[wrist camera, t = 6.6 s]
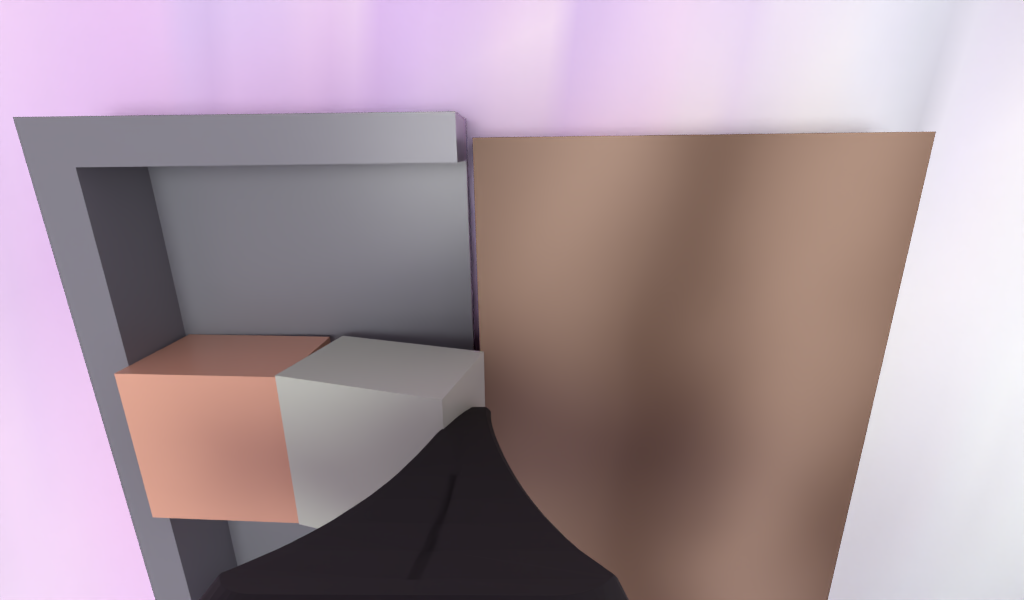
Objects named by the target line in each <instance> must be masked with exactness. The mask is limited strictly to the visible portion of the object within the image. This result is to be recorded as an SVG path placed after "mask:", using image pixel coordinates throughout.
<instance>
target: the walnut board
mask: <svg viewBox="0 0 1024 600" xmlns="http://www.w3.org/2000/svg"><path fill="white" fill-rule="evenodd" d="M935 133H936V132H875V133H798V134H721V135H644V136H567V137H490V138H473V165H474V194H475V223H476V252H477V281H478V310H479V339H480V351H483V352H484V380H485V407H487V408H488V409H489V410H490V411H491V422H492V426H493V430H494V433H495V436H496V438H497V441H498V443H499V446H500V448H501V450H502V452H503V455H504V457H505V459H506V461H507V462H508V464H509V466H510V468H511V470H512V471H513V473H514V475H515V477H516V478H517V480H518V481H519V483H520V484H521V486H522V487H523V489H524V490H525V492H526V493H527V494H528V496H529V497H530V499H531V500H532V501H533V502H534V504H535V505H536V506H537V507H538V509H539V510H540V511H541V512H542V513H543V515H544V516H545V517H546V518H547V519H548V520H549V521H550V522H551V523H552V524H553V525H554V526H555V527H556V528H557V529H558V530H559V531H560V532H561V533H562V534H563V535H564V536H565V537H566V538H567V539H568V540H569V541H570V542H571V543H572V544H573V545H575V546H576V547H577V548H578V549H579V550H581V551H582V552H583V553H585V554H586V555H588V556H589V557H590V558H592V559H593V560H595V561H596V562H597V563H599V564H600V565H602V566H603V567H604V568H606V569H607V570H609V571H610V572H611V573H613V574H614V575H615V576H616V577H617V578H618V580H619V582H620V584H621V585H622V587H623V589H624V591H625V593H626V595H627V597H628V599H629V600H828V595H829V591H830V587H831V583H832V578H833V574H834V570H835V565H836V561H837V557H838V552H839V548H840V544H841V539H842V535H843V531H844V526H845V522H846V518H847V513H848V509H849V505H850V500H851V496H852V492H853V487H854V483H855V479H856V474H857V470H858V466H859V461H860V457H861V453H862V448H863V444H864V440H865V435H866V431H867V427H868V423H869V418H870V414H871V410H872V405H873V401H874V397H875V392H876V388H877V384H878V379H879V375H880V371H881V366H882V362H883V358H884V353H885V349H886V345H887V340H888V336H889V332H890V327H891V323H892V319H893V314H894V310H895V306H896V301H897V297H898V293H899V288H900V284H901V280H902V275H903V271H904V267H905V263H906V258H907V254H908V250H909V245H910V241H911V237H912V232H913V228H914V224H915V219H916V215H917V211H918V206H919V202H920V198H921V193H922V189H923V185H924V180H925V176H926V172H927V167H928V163H929V159H930V154H931V150H932V146H933V141H934V137H935Z"/></svg>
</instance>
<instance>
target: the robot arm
mask: <svg viewBox="0 0 1024 600" xmlns="http://www.w3.org/2000/svg"><path fill="white" fill-rule="evenodd" d="M199 600H629V599H628V597H627V595H626V593H625V591H624V589H623V587H622V585H621V584H620V582H619V580H618V578H617V577H616V576H615V575H614V574H613V573H611V572H610V571H609V570H607V569H606V568H604V567H603V566H602V565H600V564H599V563H597V562H596V561H595V560H593V559H592V558H590V557H589V556H588V555H586V554H585V553H583V552H582V551H581V550H579V549H578V548H577V547H576V546H575V545H573V544H572V543H571V542H570V541H569V540H568V539H567V538H566V537H565V536H564V535H563V534H562V533H561V532H560V531H559V530H558V529H557V528H556V527H555V526H554V525H553V524H552V523H551V522H550V521H549V520H548V519H547V518H546V517H545V516H544V515H543V513H542V512H541V511H540V510H539V509H538V507H537V506H536V505H535V504H534V502H533V501H532V500H531V499H530V497H529V496H528V494H527V493H526V492H525V490H524V489H523V487H522V486H521V484H520V483H519V481H518V480H517V478H516V477H515V475H514V473H513V471H512V470H511V468H510V466H509V464H508V462H507V461H506V459H505V457H504V455H503V452H502V450H501V448H500V446H499V443H498V441H497V438H496V436H495V433H494V430H493V426H492V422H491V411H490V410H489V409H488V408H487V407H471V408H470V409H468V410H466V411H465V412H463V413H462V414H461V415H459V416H458V417H457V418H455V419H454V420H453V421H452V422H451V423H450V424H449V425H448V426H446V427H445V428H444V429H441V430H440V431H439V432H438V433H437V434H436V435H435V436H434V437H433V438H432V439H431V440H430V441H429V442H428V444H427V445H426V446H425V447H424V448H423V449H422V450H421V451H420V452H419V453H418V454H417V455H416V456H415V457H414V458H413V459H412V460H411V461H410V462H409V463H408V464H407V465H406V466H405V467H404V468H403V469H402V470H401V471H400V472H399V473H398V474H396V475H395V476H394V477H393V478H392V479H391V480H390V481H388V482H387V483H386V484H384V485H383V486H382V487H381V488H379V489H378V490H377V491H375V492H374V493H373V494H371V495H370V496H369V497H367V498H366V499H364V500H363V501H361V502H360V503H358V504H357V505H355V506H354V507H352V508H351V509H349V510H347V511H346V512H344V513H343V514H341V515H340V516H338V517H337V518H335V519H334V520H332V521H330V522H328V523H327V524H325V525H323V526H321V527H320V528H318V529H316V530H314V531H312V532H311V533H309V534H307V535H305V536H303V537H301V538H299V539H297V540H295V541H293V542H291V543H289V544H287V545H285V546H283V547H281V548H279V549H277V550H274V551H272V552H270V553H267V554H265V555H263V556H260V557H258V558H256V559H253V560H251V561H249V562H246V563H244V564H242V565H239V566H237V567H235V568H232V569H230V570H227V571H225V572H222V573H220V574H219V575H218V577H217V578H216V579H215V580H214V582H213V583H212V584H211V585H210V587H209V588H208V589H207V590H206V592H205V593H204V594H203V596H202V597H201V598H200V599H199Z"/></svg>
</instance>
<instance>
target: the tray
mask: <svg viewBox="0 0 1024 600" xmlns="http://www.w3.org/2000/svg"><path fill="white" fill-rule="evenodd" d="M13 119H14V122H15V126H16V129H17V133H18V136H19V139H20V143H21V146H22V149H23V153H24V156H25V160H26V163H27V166H28V170H29V173H30V177H31V180H32V183H33V187H34V190H35V193H36V197H37V200H38V204H39V207H40V210H41V214H42V217H43V221H44V224H45V227H46V231H47V234H48V238H49V241H50V244H51V248H52V251H53V254H54V258H55V261H56V265H57V268H58V271H59V275H60V278H61V282H62V285H63V288H64V292H65V295H66V298H67V302H68V305H69V309H70V312H71V315H72V319H73V322H74V326H75V329H76V332H77V336H78V339H79V342H80V346H81V349H82V353H83V356H84V359H85V363H86V366H87V370H88V373H89V376H90V380H91V383H92V387H93V390H94V393H95V397H96V400H97V403H98V407H99V410H100V414H101V417H102V420H103V424H104V427H105V431H106V434H107V437H108V441H109V444H110V447H111V451H112V454H113V458H114V461H115V464H116V468H117V471H118V475H119V478H120V481H121V485H122V488H123V491H124V495H125V498H126V502H127V505H128V508H129V512H130V515H131V519H132V522H133V525H134V529H135V532H136V536H137V539H138V542H139V546H140V549H141V552H142V556H143V559H144V563H145V566H146V569H147V573H148V576H149V580H150V583H151V586H152V590H153V593H154V596H155V600H199V599H200V598H201V597H202V596H203V594H204V593H205V592H206V590H207V589H208V588H209V587H210V585H211V584H212V583H213V582H214V580H215V579H216V578H217V577H218V575H219V574H220V573H222V572H225V571H227V570H230V569H232V568H235V567H237V566H239V565H242V564H244V563H246V562H249V561H251V560H253V559H256V558H258V557H260V556H263V555H265V554H267V553H270V552H272V551H274V550H277V549H279V548H281V547H283V546H285V545H287V544H289V543H291V542H293V541H295V540H297V539H299V538H301V537H303V536H305V535H307V534H309V533H311V532H312V531H314V530H316V529H317V528H313V527H309V526H305V525H300V524H299V523H282V522H257V521H232V520H206V519H181V518H156V517H153V516H152V512H151V509H150V505H149V501H148V498H147V494H146V490H145V486H144V483H143V479H142V475H141V472H140V468H139V464H138V460H137V457H136V453H135V449H134V446H133V442H132V438H131V434H130V431H129V427H128V423H127V420H126V416H125V412H124V408H123V405H122V401H121V397H120V394H119V390H118V386H117V382H116V379H115V375H114V373H116V372H118V371H120V370H122V369H124V368H126V367H128V366H130V365H132V364H134V363H135V362H137V361H139V360H141V359H143V358H145V357H147V356H149V355H151V354H153V353H155V352H156V351H158V350H160V349H162V348H164V347H166V346H168V345H170V344H172V343H174V342H176V341H177V340H179V339H181V338H183V337H185V336H187V335H189V334H204V335H262V336H319V337H330V342H333V341H334V340H336V339H338V338H340V337H341V336H350V337H359V338H368V339H377V340H385V341H394V342H403V343H412V344H421V345H430V346H438V347H447V348H456V349H465V350H474V351H475V346H474V320H473V293H472V267H471V240H470V214H469V187H468V161H467V135H466V119H465V118H464V117H462V116H461V115H460V114H458V113H457V112H455V111H446V112H370V113H293V114H216V115H140V116H63V117H13Z"/></svg>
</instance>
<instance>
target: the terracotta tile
mask: <svg viewBox="0 0 1024 600" xmlns="http://www.w3.org/2000/svg"><path fill="white" fill-rule="evenodd" d="M329 343H331V342H330V337H319V336H262V335H204V334H189V335H187V336H185V337H183V338H181V339H179V340H177V341H176V342H174V343H172V344H170V345H168V346H166V347H164V348H162V349H160V350H158V351H156V352H155V353H153V354H151V355H149V356H147V357H145V358H143V359H141V360H139V361H137V362H135V363H134V364H132V365H130V366H128V367H126V368H124V369H122V370H120V371H118V372H116V373H114V375H115V379H116V382H117V386H118V390H119V394H120V397H121V401H122V405H123V408H124V412H125V416H126V420H127V423H128V427H129V431H130V434H131V438H132V442H133V446H134V449H135V453H136V457H137V460H138V464H139V468H140V472H141V475H142V479H143V483H144V486H145V490H146V494H147V498H148V501H149V505H150V509H151V512H152V516H153V517H156V518H181V519H206V520H232V521H257V522H282V523H299V521H298V515H297V508H296V502H295V496H294V490H293V484H292V478H291V472H290V465H289V459H288V453H287V447H286V441H285V435H284V428H283V422H282V416H281V410H280V404H279V398H278V392H277V385H276V379H275V375H277V374H278V373H280V372H282V371H283V370H285V369H287V368H289V367H290V366H292V365H294V364H295V363H297V362H299V361H300V360H302V359H304V358H306V357H307V356H309V355H311V354H312V353H314V352H316V351H317V350H319V349H321V348H323V347H324V346H326V345H328V344H329Z"/></svg>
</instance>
